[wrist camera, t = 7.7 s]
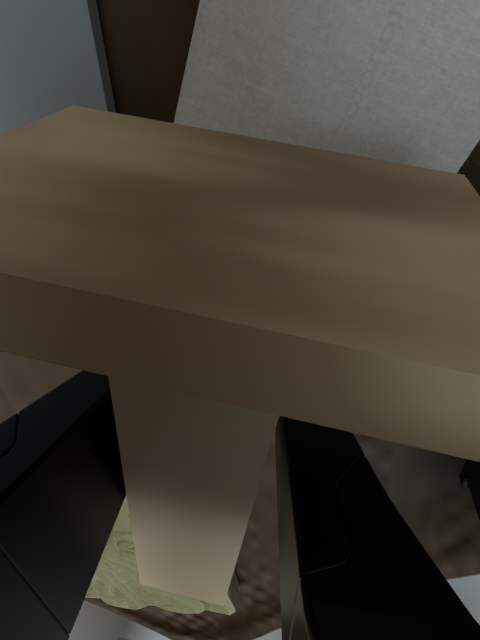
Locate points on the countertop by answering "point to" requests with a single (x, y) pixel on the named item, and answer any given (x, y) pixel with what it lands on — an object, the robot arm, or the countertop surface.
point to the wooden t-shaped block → (236, 308)
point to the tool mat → (51, 60)
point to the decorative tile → (124, 585)
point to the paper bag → (340, 76)
